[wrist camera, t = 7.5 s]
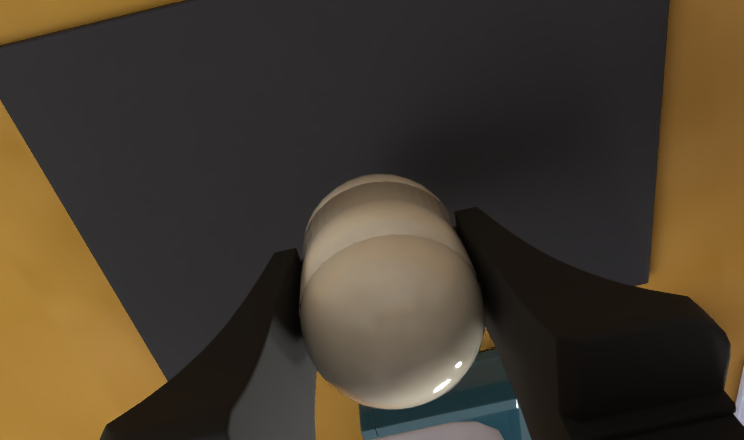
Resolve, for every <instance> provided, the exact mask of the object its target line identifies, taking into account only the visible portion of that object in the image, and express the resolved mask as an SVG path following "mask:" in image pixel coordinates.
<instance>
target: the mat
mask: <svg viewBox="0 0 744 440" xmlns="http://www.w3.org/2000/svg"><path fill="white" fill-rule="evenodd" d="M668 13H669V0H185V1H180V2H176V3H172V4H168V5H164V6H160V7H156V8H152V9H148V10H144V11H140V12H136V13H131V14H127V15H123V16H119V17H115V18H111V19H107V20H103V21H99V22H95V23H91V24H87V25H82V26H78V27H74V28H70V29H66V30H62V31H58V32H54V33H50V34H46V35H42V36H37V37H33V38H29V39H25V40H21V41H17V42H13V43H9V44H5V45H1V46H0V100H1V101H2V103H3V105H4V106H5V108H6V110H7V111H8V113H9V115H10V117H11V118H12V120H13V122H14V123H15V125H16V127H17V128H18V130H19V132H20V133H21V135H22V137H23V138H24V140H25V142H26V143H27V145H28V147H29V148H30V150H31V152H32V154H33V155H34V157H35V159H36V160H37V162H38V164H39V165H40V167H41V169H42V170H43V172H44V174H45V175H46V177H47V179H48V180H49V182H50V184H51V185H52V187H53V189H54V191H55V192H56V194H57V196H58V197H59V199H60V201H61V202H62V204H63V206H64V207H65V209H66V211H67V212H68V214H69V216H70V217H71V219H72V221H73V222H74V224H75V226H76V228H77V229H78V231H79V233H80V234H81V236H82V238H83V239H84V241H85V243H86V244H87V246H88V248H89V249H90V251H91V253H92V254H93V256H94V258H95V259H96V261H97V263H98V265H99V266H100V268H101V270H102V271H103V273H104V275H105V276H106V278H107V280H108V281H109V283H110V285H111V286H112V288H113V290H114V291H115V293H116V295H117V296H118V298H119V300H120V302H121V303H122V305H123V307H124V308H125V310H126V312H127V313H128V315H129V317H130V318H131V320H132V322H133V323H134V325H135V327H136V328H137V330H138V332H139V333H140V335H141V337H142V339H143V340H144V342H145V344H146V345H147V347H148V349H149V350H150V352H151V354H152V355H153V357H154V359H155V360H156V362H157V364H158V365H159V367H160V369H161V370H162V372H163V374H164V376H165V377H166V379H167V381H169V380H170V379H172V378H173V377H174V376H175V375H177V374H178V373H179V372H180V371H181V370H182V369H183V368H184V367H185V366H186V365H188V364H189V363H190V362H191V361H192V360H193V359H194V358H195V357H196V356H197V355H198V354H199V353H200V352H201V351H202V350H203V349H204V348H205V347H206V346H207V345H208V344H209V343H210V342H211V341H212V340H213V339H214V338H215V337H216V336H217V334H218V333H219V332H220V331H221V330H222V329H223V327H224V326H225V325H226V324H227V323H228V321H229V320H230V319H231V317H232V316H233V315H234V313H235V312H236V311H237V309H238V308H239V307H240V305H241V304H242V303H243V301H244V300H245V298H246V297H247V295H248V294H249V292H250V291H251V289H252V288H253V286H254V285H255V283H256V281H257V280H258V278H259V277H260V275H261V273H262V272H263V270H264V269H265V267H266V265H267V264H268V262H269V261H270V259H271V258H272V256H273V254H274V253H275V252H279V251H284V250H288V249H292V248H297V251H298V254H299V257H300V260H302V243H303V238H304V234H305V231H306V227H307V223H308V221H309V219H310V217H311V215H312V213H313V211H314V210H315V208H316V207H317V206H318V205H319V203H320V202H321V201H322V200H323V198H324V197H325V196H326V195H327V194H328V193H329V192H331V191H332V190H333V189H334V188H336V187H337V186H339V185H341V184H342V183H344V182H346V181H348V180H350V179H353V178H356V177H359V176H362V175H368V174H376V173H384V174H395V175H399V176H404V177H407V178H409V179H411V180H414V181H416V182H418V183H420V184H421V185H423V186H424V187H426V188H427V189H428V190H430V191H431V192H433V193H434V194H435V195H436V196H437V197H438V198H439V199H440V201H441V202H442V203H443V204H444V206H445V207H446V209H447V210H448V212H449V213H450V215H451V217H452V218H453V221H454V223H455V225H456V220H455V214H454V212H455V211H459V210H463V209H468V208H472V207H478V208H479V209H481V210H482V211H483V212H485V213H486V214H487V215H488V216H490V217H491V218H492V219H494V220H495V221H496V222H498V223H499V224H500V225H502V226H503V227H504V228H506V229H507V230H509V231H510V232H511V233H513V234H514V235H516V236H517V237H519V238H520V239H522V240H523V241H525V242H527V243H528V244H530V245H531V246H533V247H535V248H537V249H538V250H540V251H542V252H544V253H546V254H547V255H549V256H551V257H553V258H555V259H558V260H560V261H562V262H564V263H566V264H569V265H571V266H573V267H575V268H578V269H581V270H583V271H586V272H589V273H591V274H594V275H597V276H600V277H603V278H606V279H609V280H613V281H616V282H619V283H623V284H627V285H631V286H636V285H641V284H645V283H648V279H649V265H650V252H651V239H652V226H653V212H654V199H655V186H656V172H657V159H658V146H659V132H660V119H661V106H662V92H663V79H664V66H665V52H666V39H667V26H668ZM456 228H457V227H456Z"/></svg>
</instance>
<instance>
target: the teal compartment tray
mask: <svg viewBox="0 0 744 440" xmlns="http://www.w3.org/2000/svg"><path fill="white" fill-rule="evenodd" d="M359 415H360V427H361V434H362V437H363V440H371V439H376V438H381V437H385V436H390V435H395V434H399V433H404V432H408V431H413V430H418V429H422V428H427V427H432V426H436V425H441V424H446V423H450V422H468V421H476V422H479V423H482V424H484V425H487V426H489V427H492V428H494V429H497V430H499V432H500V434H501V435H502V437H503V439H504V440H531V437H530V434H529V431H528V428H527V426H526V423H525V420H524V417H523V414H522V411H521V408H520V405H519V403H518V400H517V397H516V394H515V392H514V389H513V386H512V383H511V380H510V378H509V375H508V373H507V371H506V368H505V366H504V364H503V362H502V360H501V358H500V355H499V353H498V351H497V349H492V350H488V351H483V352H479V353H478V354H477V356H476V358H475V360H474V362H473V364H472V366H471V367H470V369H469V370H468V371H467V372H466V374H465V375H464V376H463V377H462V379H461V380H460V381H459V382H458V383H457V384H456V385H455V386H454V387H453V388H452V389H451V390H450V391H448V392H447V393H445V394H444V395H442V396H441V397H439V398H437V399H435V400H433V401H431V402H428V403H426V404H423V405H419V406H416V407H412V408H406V409H391V410H386V409H378V408H372V407H368V406H365V405H361V404H359Z"/></svg>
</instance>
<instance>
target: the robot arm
mask: <svg viewBox="0 0 744 440" xmlns="http://www.w3.org/2000/svg"><path fill="white" fill-rule="evenodd" d="M454 214H455V220H456V227H457V230H458V232H459V235H460V237H461V239H462V242H463V244H464V246H465V249H466V251H467V253H468V256H469V258H470V260H471V263H472V265H473V267H474V270H475V272H476V274H477V277H478V279H479V282H480V285H481V290H482V294H483V298H484V302H485V327H486V329H487V331H488V333H489V335H490V337H491V339H492V341H493V343H494V345H495V347H496V349H497V351H498V353H499V355H500V358H501V360H502V362H503V364H504V366H505V368H506V371H507V373H508V375H509V378H510V380H511V383H512V386H513V389H514V392H515V394H516V397H517V400H518V403H519V405H520V408H521V411H522V414H523V417H524V420H525V423H526V426H527V428H528V431H529V434H530V437H531V440H744V367H743V371H742V376H741V381H740V385H739V390H738V395H737V399H736V404H735V403H734V402H733V401H732V400H731V398H730V397H729V396H728V395H727V394H726V392H725V391H724V386H725V380H726V375H727V370H728V365H729V360H730V342H729V340H728V337H727V335H726V333H725V332H724V331H723V330H722V329H721V328H720V327H719V326H718V325H717V323H716V322H715V321H714V320H713V319H712V318H711V317H710V316H709V315H708V314H707V313H706V312H705V311H704V310H703V309H702V308H701V307H699V306H698V305H697V304H696V303H695V302H694V301H693V300H692V299H690V298H689V297H688V296H682V295H676V294H670V293H665V292H659V291H653V290H648V289H643V288H639V287H635V286H631V285H627V284H623V283H619V282H616V281H613V280H609V279H606V278H603V277H600V276H597V275H594V274H591V273H589V272H586V271H583V270H581V269H578V268H575V267H573V266H571V265H569V264H566V263H564V262H562V261H560V260H558V259H555V258H553V257H551V256H549V255H547V254H546V253H544V252H542V251H540V250H538V249H537V248H535V247H533V246H531V245H530V244H528V243H527V242H525V241H523V240H522V239H520V238H519V237H517V236H516V235H514V234H513V233H511V232H510V231H509V230H507V229H506V228H504V227H503V226H502V225H500V224H499V223H498V222H496V221H495V220H494V219H492V218H491V217H490V216H488V215H487V214H486V213H485V212H483V211H482V210H481V209H479V208H478V207H472V208H468V209H463V210H459V211H455V212H454ZM300 281H301V260H300V257H299V254H298V251H297V248H292V249H288V250H284V251H279V252H275V253H274V254H273V256H272V258H271V259H270V261H269V262H268V264H267V265H266V267H265V269H264V270H263V272H262V273H261V275H260V277H259V278H258V280H257V281H256V283H255V285H254V286H253V288H252V289H251V291H250V292H249V294H248V295H247V297H246V298H245V300H244V301H243V303H242V304H241V305H240V307H239V308H238V309H237V311H236V312H235V313H234V315H233V316H232V317H231V319H230V320H229V321H228V323H227V324H226V325H225V326H224V327H223V329H222V330H221V331H220V332H219V333H218V334H217V336H216V337H215V338H214V339H213V340H212V341H211V342H210V343H209V344H208V345H207V346H206V347H205V348H204V349H203V350H202V351H201V352H200V353H199V354H198V355H197V356H196V357H195V358H194V359H193V360H192V361H191V362H190V363H189V364H188V365H186V366H185V367H184V368H183V369H182V370H181V371H180V372H179V373H178V374H177V375H175V376H174V377H173V378H172V379H170V380H169V381H168V382H167V383H166V384H164V385H163V386H162V387H161V388H159V389H158V390H157V391H155V392H154V393H153V394H151V395H150V396H149V397H147V398H146V399H145V400H143V401H142V402H140V403H139V404H137V405H136V406H134V407H133V408H131V409H130V410H128V411H127V412H125V413H124V414H122V415H121V416H119V417H118V418H116V419H115V420H113V421H112V422H110V423H108V424H107V425H106V427H105V429H104V431H103V433H102V435H101V438H100V440H316V438H315V390H316V373H317V370H316V368H315V367H314V365H313V363H312V361H311V359H310V358H309V356H308V353H307V351H306V348H305V346H304V343H303V339H302V335H301V331H300V321H299V302H300ZM371 440H504V439H503V437H502V435H501V434H500V432H499V430H497V429H494V428H492V427H489V426H487V425H484V424H482V423H479V422H476V421H468V422H450V423H446V424H441V425H436V426H432V427H427V428H422V429H418V430H413V431H408V432H404V433H399V434H395V435H390V436H385V437H381V438H376V439H371Z"/></svg>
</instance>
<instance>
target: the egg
mask: <svg viewBox="0 0 744 440" xmlns="http://www.w3.org/2000/svg"><path fill="white" fill-rule="evenodd" d="M299 321H300V331H301V335H302V339H303V343H304V346H305V348H306V351H307V353H308V356H309V358H310V359H311V361H312V363H313V365H314V367H315V368H316V370H317V371H318V372H319V373H320V374H321V376H322V377H323V378H324V379H325V380H326V381H327V382H328V383H329V385H330V386H331V387H332V388H334V389H335V390H337V391H338V392H339V393H341V394H342V395H344V396H346V397H347V398H349V399H351V400H353V401H355V402H357V403H359V404H361V405H365V406H368V407H372V408H378V409H386V410H391V409H406V408H412V407H416V406H419V405H423V404H426V403H428V402H431V401H433V400H435V399H437V398H439V397H441V396H442V395H444V394H445V393H447V392H448V391H450V390H451V389H452V388H453V387H454V386H455V385H456V384H457V383H458V382H459V381H460V380H461V379H462V377H463V376H464V375H465V374H466V372H467V371H468V370H469V369H470V367H471V366H472V364H473V362H474V360H475V358H476V356H477V354H478V352H479V349H480V346H481V343H482V339H483V335H484V331H485V302H484V298H483V294H482V290H481V285H480V282H479V279H478V277H477V274H476V272H475V270H474V267H473V265H472V263H471V260H470V258H469V256H468V253H467V251H466V249H465V246H464V244H463V242H462V239H461V237H460V235H459V232H458V230H457V228H456V225H455V223H454V221H453V218H452V217H451V215H450V213H449V212H448V210H447V209H446V207H445V206H444V204H443V203H442V202H441V201H440V199H439V198H438V197H437V196H436V195H435V194H434V193H433V192H431V191H430V190H428V189H427V188H426V187H424V186H423V185H421V184H420V183H418V182H416V181H414V180H411V179H409V178H407V177H404V176H399V175H395V174H384V173H376V174H368V175H362V176H359V177H356V178H353V179H350V180H348V181H346V182H344V183H342V184H341V185H339V186H337V187H336V188H334V189H333V190H332V191H331V192H329V193H328V194H327V195H326V196H325V197H324V198H323V200H322V201H321V202H320V203H319V205H318V206H317V207H316V208H315V210H314V211H313V213H312V215H311V217H310V219H309V221H308V223H307V227H306V231H305V234H304V238H303V243H302V260H301V281H300V302H299Z"/></svg>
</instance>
